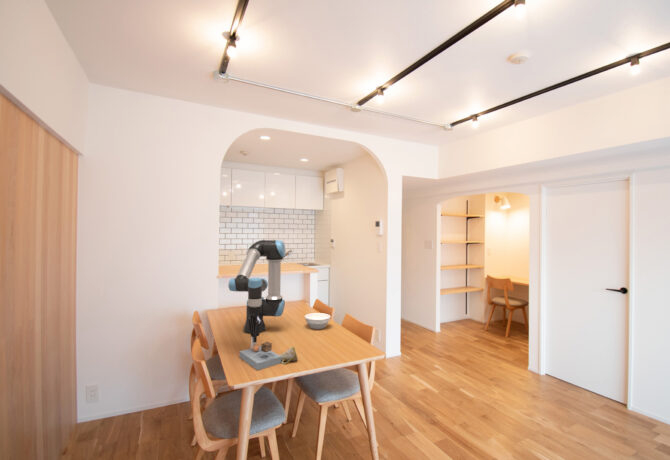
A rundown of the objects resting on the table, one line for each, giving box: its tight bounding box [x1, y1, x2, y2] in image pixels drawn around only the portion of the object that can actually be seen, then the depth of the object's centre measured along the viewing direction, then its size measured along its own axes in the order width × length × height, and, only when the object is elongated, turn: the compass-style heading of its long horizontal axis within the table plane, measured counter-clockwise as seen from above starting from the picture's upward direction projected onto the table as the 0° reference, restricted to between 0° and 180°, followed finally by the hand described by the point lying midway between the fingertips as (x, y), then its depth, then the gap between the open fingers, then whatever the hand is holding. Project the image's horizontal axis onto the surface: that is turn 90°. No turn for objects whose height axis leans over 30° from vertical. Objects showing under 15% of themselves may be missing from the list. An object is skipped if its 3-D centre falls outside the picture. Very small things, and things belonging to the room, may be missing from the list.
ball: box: [253, 344, 260, 352], centre depth 172 cm, size 4×4×4 cm
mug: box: [279, 346, 298, 365], centre depth 169 cm, size 8×10×10 cm
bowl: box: [304, 312, 332, 330], centre depth 230 cm, size 20×19×8 cm
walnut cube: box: [260, 341, 273, 352], centre depth 174 cm, size 4×4×4 cm
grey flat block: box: [238, 345, 282, 371], centre depth 169 cm, size 21×14×4 cm, turn 42°
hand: (253, 347), depth 174 cm, fingers closed
